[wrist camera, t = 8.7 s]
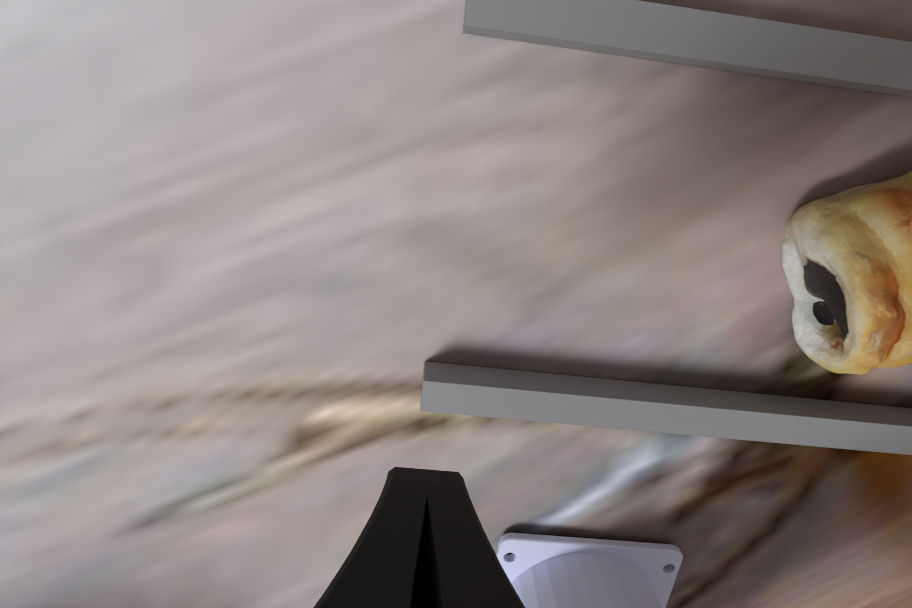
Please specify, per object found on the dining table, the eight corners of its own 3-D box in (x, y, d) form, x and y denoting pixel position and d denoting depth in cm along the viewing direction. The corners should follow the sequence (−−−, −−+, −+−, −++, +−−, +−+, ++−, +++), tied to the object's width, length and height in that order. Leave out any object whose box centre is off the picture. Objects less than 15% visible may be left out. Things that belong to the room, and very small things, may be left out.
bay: (969, 440, 21) (1049, 490, 19) (421, 389, 20) (418, 435, 17) (1160, 91, 17) (1304, 87, 14) (467, -13, 15) (474, -41, 12)
